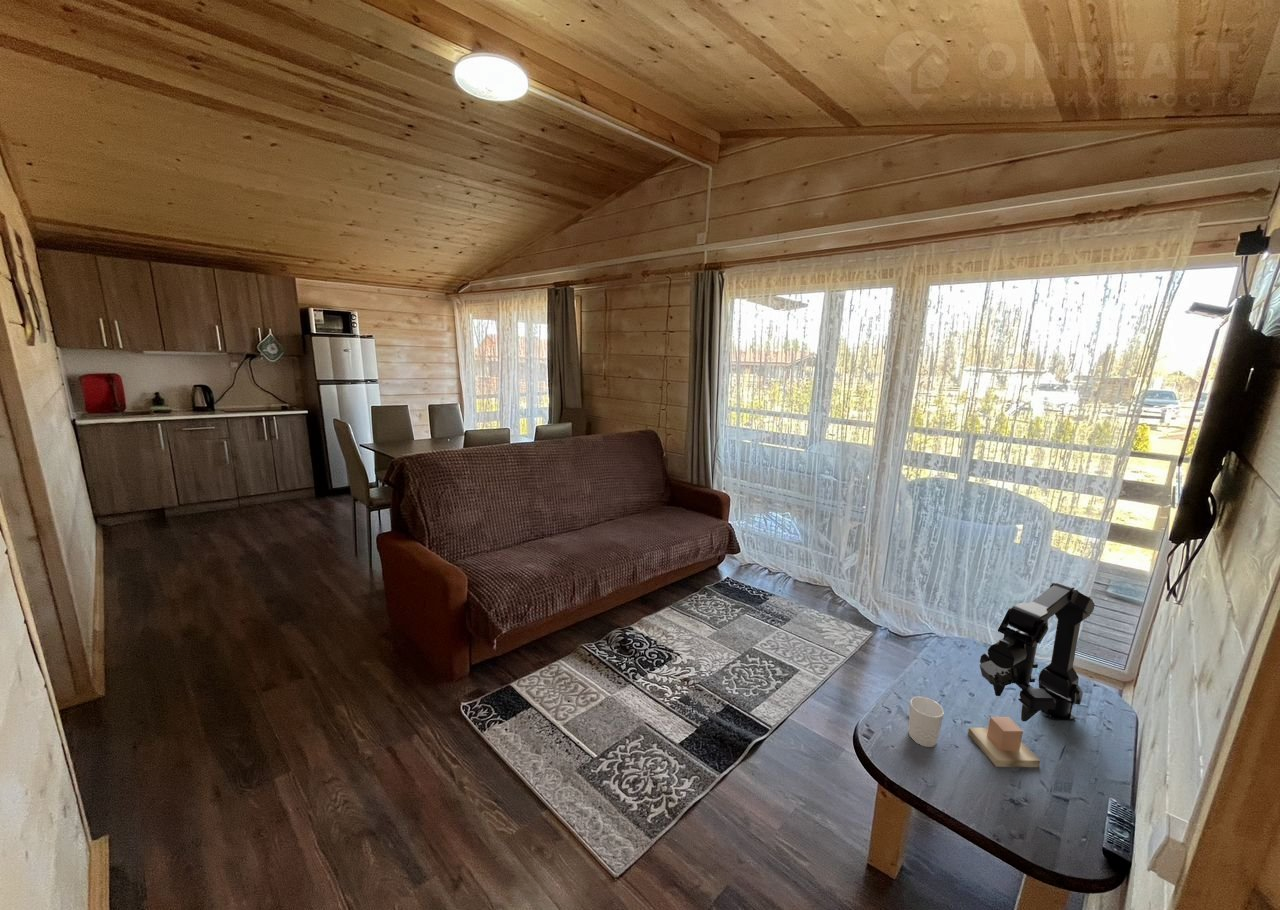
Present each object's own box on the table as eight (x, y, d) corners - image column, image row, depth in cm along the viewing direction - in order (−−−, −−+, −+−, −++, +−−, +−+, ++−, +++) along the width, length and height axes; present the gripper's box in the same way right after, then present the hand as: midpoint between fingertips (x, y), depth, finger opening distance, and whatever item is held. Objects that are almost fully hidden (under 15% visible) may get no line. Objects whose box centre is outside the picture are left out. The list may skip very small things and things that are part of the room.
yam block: (1005, 736, 131) (1008, 717, 130) (1019, 750, 126) (1023, 731, 125) (986, 735, 131) (990, 716, 130) (1000, 750, 126) (1003, 731, 125)
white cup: (937, 732, 135) (941, 701, 133) (940, 753, 128) (945, 720, 126) (905, 723, 138) (909, 693, 136) (907, 743, 131) (911, 711, 129)
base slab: (1007, 734, 135) (1008, 727, 134) (1038, 767, 124) (1040, 760, 123) (967, 733, 135) (968, 727, 134) (996, 766, 124) (997, 760, 123)
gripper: (964, 634, 133) (956, 683, 136) (1016, 679, 114) (1005, 735, 118) (1005, 634, 132) (996, 684, 136) (1063, 679, 114) (1051, 735, 117)
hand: (1010, 707), depth 127 cm, fingers open, 9 cm apart
